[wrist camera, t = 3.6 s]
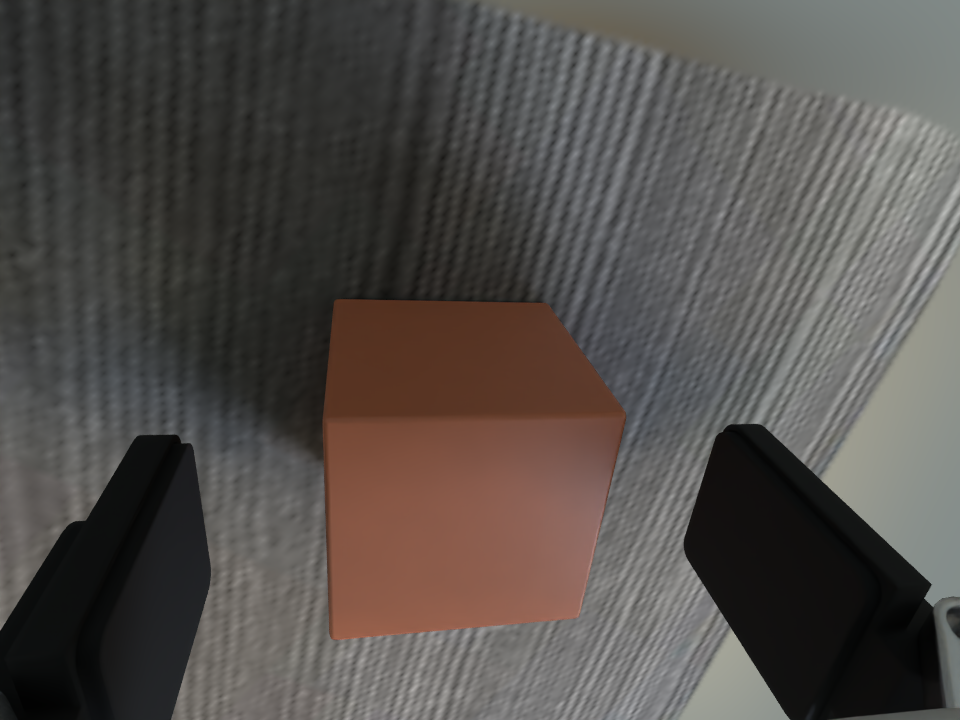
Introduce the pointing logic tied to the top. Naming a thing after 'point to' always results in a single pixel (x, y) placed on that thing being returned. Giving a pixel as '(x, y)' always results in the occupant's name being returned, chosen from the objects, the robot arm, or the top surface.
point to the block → (460, 466)
